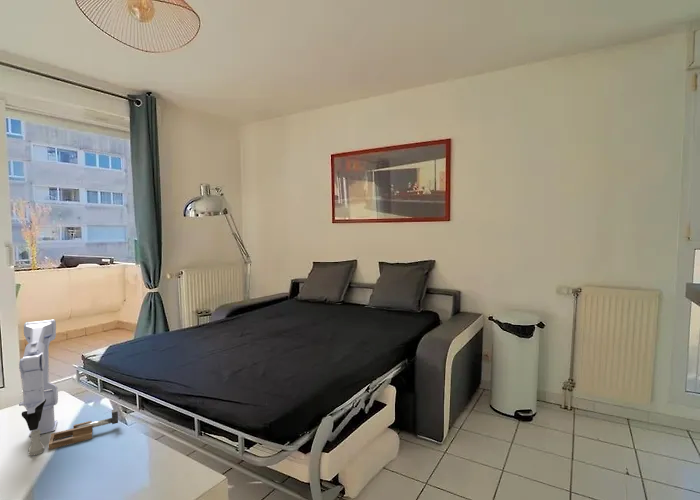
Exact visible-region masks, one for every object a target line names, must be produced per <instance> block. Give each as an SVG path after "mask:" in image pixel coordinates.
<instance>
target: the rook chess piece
mask: <svg viewBox="0 0 700 500" xmlns="http://www.w3.org/2000/svg"><path fill="white" fill-rule="evenodd" d="M30 432H31V434H30V433H29V434H30V440H31V442H30V447H29V449H28V453H27V454H28V455H29V456H31V457H33V456H34V457H35V456H38V455H39V454H42V453H44V450H45V448H44V447H45V445H44V444H43V443H42V441H41V434H40V433H41V431H40V430H39V429H37V431H36V430H34V432H33V431H30Z"/></svg>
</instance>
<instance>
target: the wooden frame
mask: <svg viewBox="0 0 700 500" xmlns="http://www.w3.org/2000/svg"><path fill="white" fill-rule="evenodd" d="M92 422H93V421H92V420H89V421H85V422H81V423H76V424H73V428H70V429H66V430H65V429H64V430H62V431H55V432H53V433H51V434H50V438H49V441H48V450H53V449H57V448H61V447H65V446H69V445H71V444H72V445H73V444H77V443H81V442H84V441H87V440H91V439H93V428H91V425H88V426H83V427H79V428H77V426H80V425H84V424H88V423H92Z"/></svg>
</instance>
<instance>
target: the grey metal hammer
mask: <svg viewBox="0 0 700 500" xmlns="http://www.w3.org/2000/svg"><path fill="white" fill-rule="evenodd" d="M118 423H119V409H118V408H114V409H111V417H110V418H107V419H102V420H96V421H92V423H88V424H84V425H80V426H77V428H79V427H83V426H88V425H91V428H92V429H93V428H94V429H95V428H98V427H101V426H105V425H110V424H112V425H115V424H118Z"/></svg>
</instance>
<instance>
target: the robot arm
mask: <svg viewBox="0 0 700 500" xmlns="http://www.w3.org/2000/svg"><path fill="white" fill-rule="evenodd" d="M23 334H24V335H23V336H24V338H25V341H27V344H25V345H26V346H25V347H24V352H23V357H21V358H20V359H19V362H18V363H19V364H18V365H19V367H18V369H19V372H20V377H21V381H22V400H23V401H20V402H19V403H18V406H19V407H21V406H23V407H24V409H25V410H24V411H22V412H21V417H22V418H23V419H24V420H25V422H26V425H27V427H28V430H29V431H30V433H29V434H28V437H30V438H31V436H30V434H31V431H33V432H34V430H36V431H37V429H39V430H40V431H41V433H40V435H42V434H46V433H51V432H56V429H57V424H58V420H56V419H55V406H56V405H57V404H58V402H59V395H58V394H59V391H58V386H57V385H56V384H54V383H52V382H50V381H49V380H50V379H49V377H50V374H49V371H50V369H49V368H50V367H49V366H50V364H49V363H50V361H49V360H50V359H49V356H50V353H49V352H50V351H49V348H50V343H51V342H52V341H54V340H55V339H56V337H57V322H56V320H55V319H54V318H53V319H46V320H37V321H26V322H25V323H24V324H23Z"/></svg>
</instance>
